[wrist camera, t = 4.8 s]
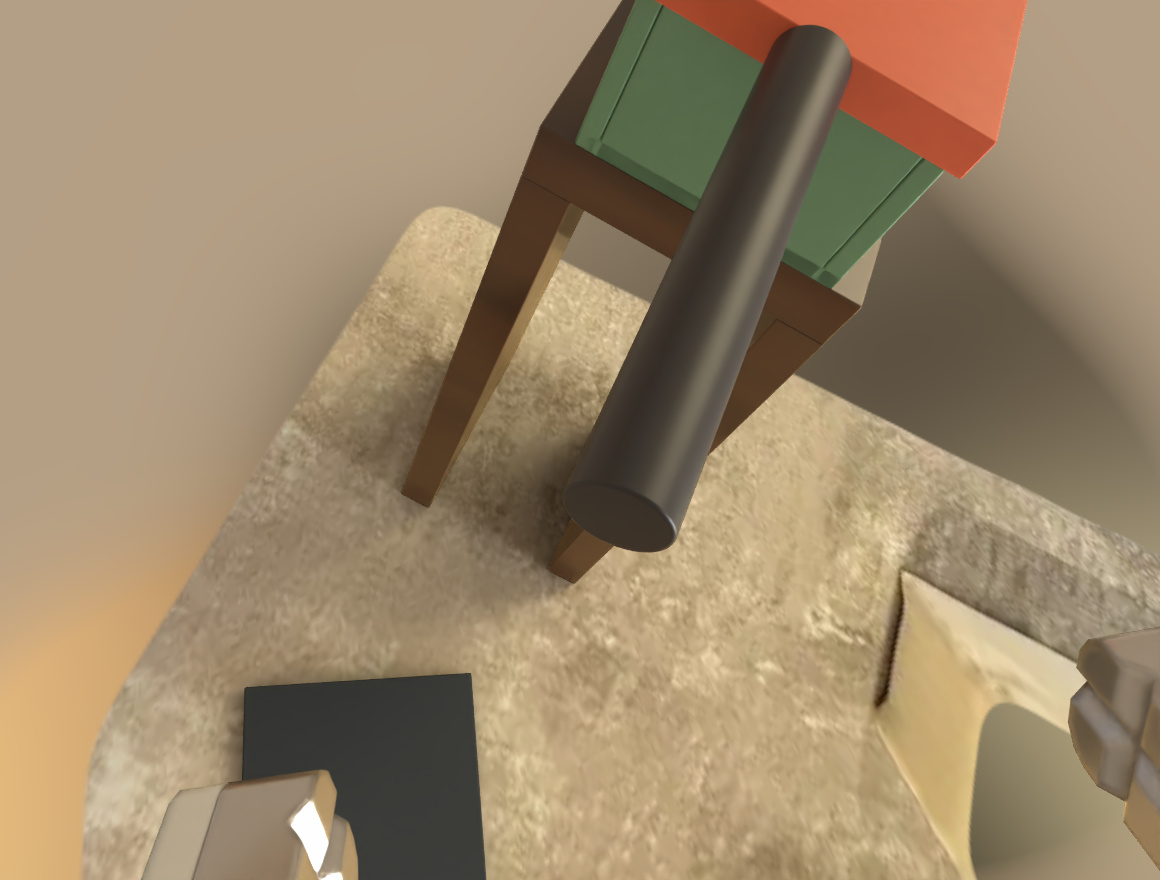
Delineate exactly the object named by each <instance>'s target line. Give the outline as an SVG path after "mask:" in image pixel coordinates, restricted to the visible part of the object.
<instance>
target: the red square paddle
mask: <svg viewBox="0 0 1160 880" xmlns="http://www.w3.org/2000/svg"><path fill="white" fill-rule="evenodd" d="M655 1H657V2H659V3H660V4H662V5H664V6H665V7H667V8H669V9H671V10H672V11H674V12H676V13H677V14H679V15H681V16H682V17H684V18H686V19H688V20H689V21H691V22H693V23H694V24H696V25H698V26H700V27H701V28H703V29H705V30H706V31H708V32H710V33H711V34H713V35H715V36H717V37H718V38H720V39H722V40H723V41H725V42H727V43H728V44H730V45H732V46H734V47H735V48H737V49H739V50H740V51H742V52H744V53H746V54H747V55H749V56H751V57H752V58H754V59H756V60H757V61H759V62H761V63H763V66H762V68H761V70H760V73H759V75H758V77H757V79H756V81H755V83H754V85H753V87H752V90H751V92H750V94H749V96H748V98H747V100H746V102H745V105H744V107H743V109H742V111H741V113H740V115H739V117H738V120H737V122H736V124H735V126H734V128H733V130H732V132H731V134H730V137H729V139H728V141H727V143H726V145H725V147H724V149H723V152H722V154H721V156H720V158H719V160H718V162H717V164H716V166H715V169H714V171H713V173H712V175H711V177H710V179H709V181H708V184H707V186H706V188H705V190H704V192H703V194H702V196H701V199H700V201H699V203H698V205H697V207H696V209H695V211H694V213H693V216H692V218H691V220H690V222H689V224H688V226H687V228H686V231H685V233H684V235H683V237H682V239H681V241H680V243H679V245H678V248H677V250H676V252H675V254H674V256H673V258H672V261H671V263H670V265H669V267H668V269H667V271H666V273H665V275H664V278H663V280H662V282H661V284H660V286H659V288H658V290H657V293H656V295H655V297H654V299H653V301H652V303H651V305H650V307H649V310H648V312H647V314H646V316H645V318H644V320H643V322H642V324H641V327H640V329H639V331H638V333H637V335H636V337H635V339H634V342H633V344H632V346H631V348H630V350H629V352H628V354H627V357H626V359H625V361H624V363H623V365H622V367H621V369H620V371H619V374H618V376H617V378H616V380H615V382H614V384H613V386H612V389H611V391H610V393H609V395H608V397H607V399H606V401H605V403H604V406H603V408H602V410H601V412H600V414H599V416H598V418H597V421H596V423H595V425H594V427H593V429H592V431H591V433H590V435H589V438H588V440H587V442H586V444H585V446H584V448H583V450H582V453H581V455H580V457H579V459H578V461H577V463H576V465H575V468H574V470H573V472H572V474H571V476H570V478H569V480H568V482H567V485H566V487H565V489H564V491H563V505H564V508H565V510H566V512H567V513H568V515H569V516H570V517H571V519H572V520H573V521H574V522H575V523H576V524H578V525H579V526H580V527H581V528H582V529H584V530H585V531H586V532H588V533H589V534H591V535H593V536H594V537H596V538H598V539H600V540H602V541H604V542H606V543H608V544H611V545H613V546H616V547H619V548H623V549H626V550H631V551H636V552H658V551H662V550H665V549H667V548H668V547H670V546H671V545H672V544H673V543H674V542H675V540H676V538H677V536H678V533H679V530H680V528H681V525H682V522H683V520H684V517H685V514H686V512H687V509H688V506H689V504H690V501H691V498H692V496H693V493H694V490H695V488H696V485H697V482H698V480H699V477H700V474H701V472H702V469H703V466H704V464H705V461H706V458H707V456H708V453H709V450H710V448H711V445H712V443H713V440H714V437H715V435H716V432H717V429H718V427H719V424H720V421H721V419H722V416H723V413H724V411H725V408H726V405H727V403H728V400H729V397H730V395H731V392H732V389H733V387H734V384H735V381H736V379H737V376H738V373H739V371H740V368H741V365H742V363H743V360H744V357H745V355H746V352H747V350H748V347H749V344H750V342H751V339H752V336H753V334H754V331H755V328H756V326H757V323H758V320H759V318H760V315H761V312H762V310H763V307H764V304H765V302H766V299H767V296H768V294H769V291H770V288H771V286H772V283H773V280H774V278H775V275H776V272H777V270H778V267H779V264H780V262H781V259H782V257H783V254H784V251H785V249H786V246H787V243H788V241H789V238H790V235H791V233H792V230H793V227H794V225H795V222H796V219H797V217H798V214H799V211H800V209H801V206H802V203H803V201H804V198H805V195H806V193H807V190H808V187H809V185H810V182H811V179H812V177H813V174H814V171H815V169H816V166H817V163H818V161H819V158H820V156H821V153H822V150H823V148H824V145H825V142H826V140H827V137H828V134H829V132H830V129H831V126H832V124H833V121H834V118H835V116H836V113H837V110H838V108H839V109H841V110H843V111H844V112H846V113H848V114H849V115H851V116H853V117H855V118H856V119H858V120H860V121H861V122H863V123H865V124H867V125H868V126H870V127H872V128H873V129H875V130H877V131H878V132H880V133H882V134H884V135H885V136H887V137H889V138H890V139H892V140H894V141H895V142H897V143H899V144H901V145H902V146H904V147H906V148H907V149H909V150H911V151H913V152H914V153H916V154H918V155H919V156H921V157H923V158H924V159H926V160H928V161H930V162H931V163H933V164H935V165H936V166H938V167H940V168H941V169H943V170H945V171H947V172H948V173H950V174H952V175H954V176H955V177H957V178H959V179H961V178H963V176H965V174H967V172H968V171H969V170H970V169H971V168H972V167H973V166H974V165H975V164H976V163H977V162H978V161H979V160H980V159H981V158H982V157H983V156H984V155H985V154H986V153H987V152H988V151H989V150H990V149H991V148H992V147H993V146H994V145H995V144H996V143H997V139H998V134H999V129H1000V125H1001V120H1002V116H1003V111H1004V106H1005V102H1006V97H1007V93H1008V88H1009V83H1010V78H1011V74H1012V69H1013V65H1014V60H1015V56H1016V51H1017V46H1018V42H1019V37H1020V32H1021V28H1022V23H1023V19H1024V14H1025V9H1026V5H1027V0H655Z"/></svg>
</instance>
